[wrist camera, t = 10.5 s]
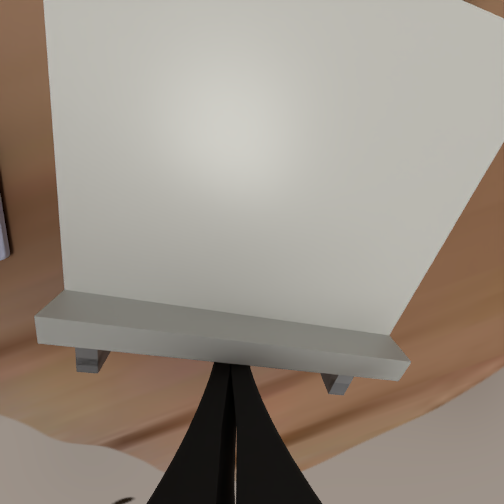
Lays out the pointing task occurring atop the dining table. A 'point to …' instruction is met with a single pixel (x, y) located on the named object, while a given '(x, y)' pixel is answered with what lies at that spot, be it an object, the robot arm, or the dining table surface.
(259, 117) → the lid
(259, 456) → the robot arm
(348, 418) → the dining table surface
